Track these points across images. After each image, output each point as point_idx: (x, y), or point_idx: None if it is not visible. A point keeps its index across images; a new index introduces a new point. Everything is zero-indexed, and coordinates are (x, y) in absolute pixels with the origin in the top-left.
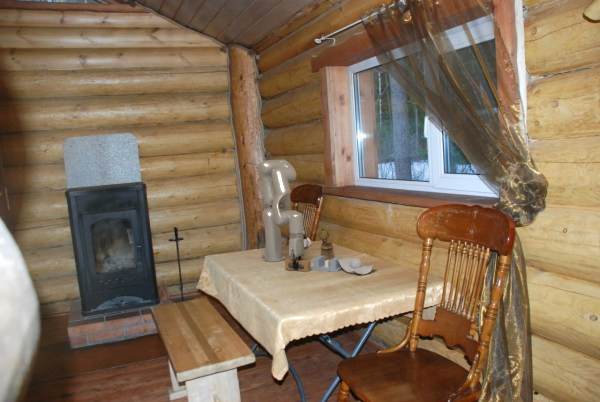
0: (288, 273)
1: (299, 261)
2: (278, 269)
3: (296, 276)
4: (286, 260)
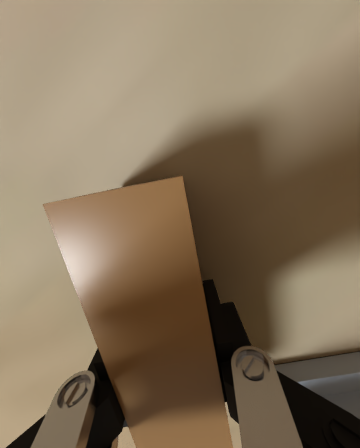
0: (47, 293)
1: (150, 437)
2: (89, 98)
3: (30, 389)
4: (64, 237)
